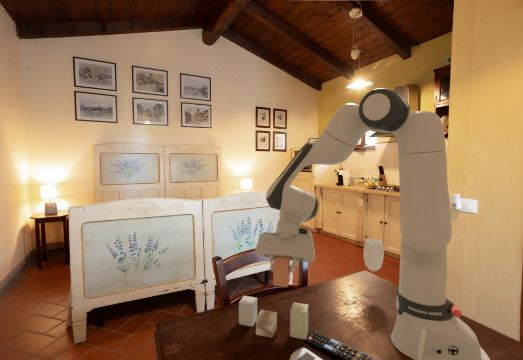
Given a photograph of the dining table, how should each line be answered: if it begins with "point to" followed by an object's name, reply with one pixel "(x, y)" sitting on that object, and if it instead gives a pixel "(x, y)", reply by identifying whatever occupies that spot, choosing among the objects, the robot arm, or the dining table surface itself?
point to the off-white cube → (266, 323)
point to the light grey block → (247, 311)
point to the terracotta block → (281, 271)
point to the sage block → (299, 320)
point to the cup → (373, 254)
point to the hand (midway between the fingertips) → (281, 270)
